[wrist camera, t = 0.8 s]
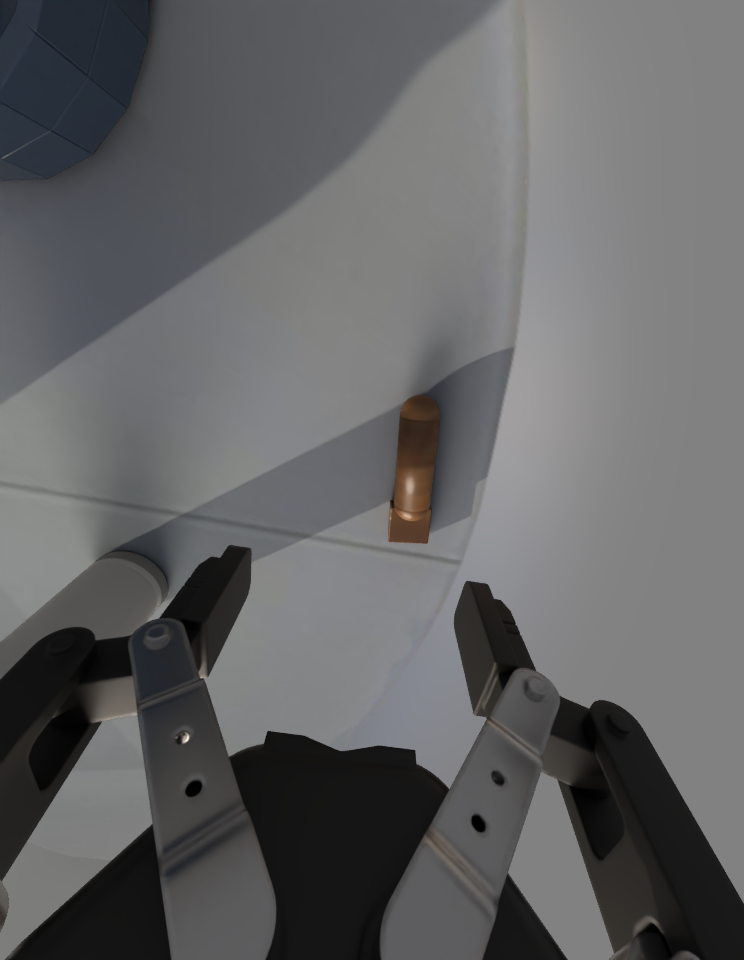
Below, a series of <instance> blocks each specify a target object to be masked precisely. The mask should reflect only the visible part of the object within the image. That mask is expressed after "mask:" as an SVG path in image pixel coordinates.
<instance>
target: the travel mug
mask: <svg viewBox="0 0 744 960" xmlns="http://www.w3.org/2000/svg"><path fill="white" fill-rule="evenodd" d="M167 592H168V586H167V581H166V578H165V576H164V574H163V573H162V572H161V570H160V569H159V568H158V567H157V566H156V565H155V564H154V563H153V562H151V561H150V560H149V559H147V558H145V557H143V556H141V555H138V554H135V553H131V552H125V551H117V552H110V553H107V554H105V555H103V556H102V557H100V558H99V559H98V560H96V561H95V562H94V563H93V564H92V565H91V566H89V568H88V569H86V570H85V571H84V572H82V573H81V574H80V575H79V576H78V577H76V578H75V579H74V580H73V581H72V582H71V583H69V584H68V585H67V586H66V587H65V588H64V589H62V590H61V591H60V592H59V593H58V594H56V595H55V596H54V597H53V598H52V599H51V600H49V601H48V602H47V603H46V604H45V605H44V606H42V607H41V608H40V609H39V610H38V611H36V612H35V613H34V614H33V615H32V616H31V617H29V618H28V619H27V620H26V621H25V622H24V623H22V624H21V625H20V626H19V627H18V628H17V629H15V630H14V631H13V632H12V633H11V634H9V635H8V636H7V637H6V638H5V639H4V640H2V641H1V642H0V679H1V678H2V677H3V676H4V675H5V674H6V673H7V672H8V671H9V670H10V669H11V668H12V667H13V666H14V665H15V664H16V663H17V662H18V661H19V660H20V659H21V658H22V657H23V656H24V655H25V654H26V653H27V651H28V650H29V649H30V648H31V647H32V646H33V645H34V644H36V643H37V642H38V641H39V640H41V639H42V638H43V637H45V636H47V635H49V634H51V633H53V632H55V631H58V630H61V629H64V628H69V627H84V628H87V629H90V630H91V631H92V632H93V633H94V635H95V639H96V640H100V639H109V638H117V637H124V636H129V635H132V634H133V632H134V631H135V630H136V629H138V628H139V627H140V626H142V625H143V624H145V623H147V622H148V620H149V619H150V618H151V617H152V615H153V614H154V612H155V611H156V610H157V609H158V608H159V606H160V605H161V604H162V602H163V601H164V599H165V598H166V595H167Z"/></svg>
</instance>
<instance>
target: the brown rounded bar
mask: <svg viewBox="0 0 744 960" xmlns="http://www.w3.org/2000/svg"><path fill="white" fill-rule="evenodd" d="M439 425H440V408H439V406H438V404H437V403H436V401H435V400H433V399H432V398H431V397H429V396H426V395H415V396H413V397H411V398H409V399H408V400H407V401H406V402H405V403H404V404H403V406H402V408H401V412H400V423H399V437H398V451H397V465H396V479H395V494H394V500H391V501H390V513H389V529H388V541H389V542H403V543H425V544H427V543H428V536H429V528H430V520H431V511H432V509H431V505H430V502H431V493H432V485H433V476H434V468H435V459H436V450H437V442H438V433H439Z"/></svg>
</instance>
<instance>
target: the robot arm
mask: <svg viewBox="0 0 744 960" xmlns="http://www.w3.org/2000/svg"><path fill="white" fill-rule="evenodd" d="M250 583H251V548H247V547H240V546H234V545H229V546H228V547H227V549H226V550H225V552H224V553H223V554H222V556H221V557H220V558H217V557H210V558H209V559H207V560H206V561H204V562H203V563H201V564H199V565H198V567H197V568H196V569H195V571H194V572H193V574H192V575H191V577H190V578H189V579H188V580H187V582H186V583H185V586H183V587H182V588H181V590H180V591H179V592H178V594H177V595H176V596H175V598H174V599H173V600H172V602H171V603H170V604H169V606H168V607H167V608H166V610H165V611H164V613H163V614H162V615H161V617H160V618H159V619H155V620H152V621H149V622H147V623H145V624H143V625H142V626H140V627H139V628H138V629H136V630H135V631H134V632H133V634H132V635H129V636H124V637H117V638H109V639H100V640H96V639H95V635H94V633H93V632H92V631H91V630H90V629H87V628H84V627H69V628H64V629H61V630H58V631H55V632H53V633H51V634H49V635H47V636H45V637H43V638H42V639H41V640H39V641H38V642H37V643H36V644H34V645H33V646H32V647H31V648H30V649H29V650H28V651H27V653H26V654H25V655H24V656H23V657H22V658H21V659H20V660H19V661H18V662H17V663H16V664H15V665H14V666H13V667H12V668H11V669H10V670H9V671H8V672H7V673H6V674H5V675H4V676H3V677H2V678H1V679H0V931H1V929H2V927H3V925H4V922H5V919H6V917H7V913H8V908H9V897H8V893H7V891H6V889H5V887H4V885H3V883H2V880H3V878H4V877H5V875H6V873H7V872H8V871H9V869H10V867H11V866H12V864H13V863H14V861H15V859H16V858H17V856H18V855H19V853H20V851H21V850H22V848H23V847H24V845H25V843H26V842H27V840H28V839H29V837H30V836H31V834H32V832H33V831H34V829H35V828H36V826H37V824H38V823H39V821H40V820H41V818H42V816H43V815H44V813H45V812H46V810H47V809H48V807H49V805H50V804H51V802H52V801H53V799H54V797H55V796H56V794H57V793H58V791H59V789H60V788H61V786H62V785H63V783H64V781H65V780H66V778H67V777H68V775H69V774H70V772H71V770H72V769H73V767H74V766H75V764H76V762H77V761H78V759H79V758H80V756H81V754H82V753H83V751H84V750H85V748H86V746H87V745H88V743H89V742H90V740H91V739H92V737H93V735H94V734H95V732H96V731H97V729H98V727H99V726H100V724H101V723H102V721H105V720H110V719H115V718H121V717H126V716H132V715H138V722H139V729H140V736H141V744H142V751H143V758H144V765H145V772H146V779H147V786H148V794H149V801H150V808H151V815H152V822H153V824H152V825H151V826H150V827H148V828H147V829H146V830H145V831H144V832H143V833H142V834H141V835H140V836H138V837H137V838H136V839H135V840H134V841H133V842H132V843H131V844H130V845H128V846H127V847H126V848H125V849H124V850H123V851H122V852H121V853H120V854H119V855H117V856H116V857H115V858H114V859H113V860H112V861H111V862H110V863H109V864H107V865H106V866H105V867H104V868H103V869H102V870H101V871H100V872H99V873H98V874H96V875H95V877H93V878H92V879H91V880H90V881H89V882H88V883H86V884H85V885H84V886H83V887H82V888H81V889H80V890H79V891H78V892H77V893H76V894H74V895H73V896H72V897H71V898H70V899H69V900H68V901H66V902H65V903H64V904H63V905H62V906H61V907H60V908H59V909H58V910H57V911H55V912H54V913H53V914H52V915H51V916H50V917H49V918H48V919H47V920H45V921H44V922H43V923H42V924H41V925H40V926H39V927H38V928H37V929H36V930H34V931H33V932H32V933H31V934H30V935H29V936H28V937H27V938H26V939H24V940H23V941H22V942H21V943H20V944H19V945H18V946H17V947H16V948H15V950H14V951H12V953H11V954H10V955H9V956H8V957H7V958H6V959H5V960H568V959H567V958H566V957H565V955H564V954H563V952H562V951H561V949H560V948H559V946H558V945H557V944H556V942H555V941H554V939H553V938H552V936H551V935H550V933H549V932H548V930H547V929H546V928H545V926H544V925H543V923H542V922H541V920H540V919H539V917H538V916H537V914H536V913H535V912H534V910H533V909H532V907H531V906H530V904H529V903H528V901H527V900H526V899H525V897H524V896H523V894H522V893H521V891H520V890H519V888H518V887H517V885H516V884H515V883H514V881H513V880H512V878H511V877H510V875H509V874H508V870H509V867H510V864H511V861H512V858H513V855H514V852H515V849H516V846H517V843H518V840H519V837H520V834H521V831H522V828H523V825H524V822H525V819H526V816H527V813H528V810H529V807H530V804H531V800H532V797H533V794H534V791H535V788H536V785H537V782H538V779H539V776H540V773H541V772H543V773H545V774H547V775H549V776H551V777H554V778H555V779H557V780H558V783H559V786H560V789H561V792H562V795H563V798H564V801H565V804H566V807H567V810H568V813H569V816H570V819H571V823H572V825H573V829H574V831H575V835H576V838H577V841H578V844H579V847H580V850H581V853H582V856H583V859H584V862H585V865H586V868H587V872H588V875H589V878H590V881H591V884H592V887H593V890H594V893H595V896H596V899H597V902H598V905H599V908H600V911H601V914H602V917H603V920H604V924H605V927H606V930H607V933H608V936H609V939H610V942H611V945H612V948H613V951H614V955H612V957H611V958H610V959H609V960H744V903H743V902H742V900H741V898H740V897H739V895H738V893H737V892H736V890H735V888H734V886H733V884H732V883H731V881H730V879H729V878H728V876H727V874H726V872H725V870H724V869H723V867H722V865H721V863H720V862H719V860H718V858H717V857H716V855H715V854H714V851H713V850H712V848H711V846H710V845H709V843H708V841H707V839H706V838H705V836H704V834H703V832H702V831H701V829H700V827H699V825H698V824H697V822H696V820H695V818H694V817H693V815H692V813H691V811H690V810H689V808H688V806H687V805H686V803H685V801H684V799H683V798H682V796H681V794H680V792H679V791H678V789H677V787H676V785H675V784H674V782H673V780H672V779H671V777H670V775H669V773H668V772H667V770H666V768H665V766H664V765H663V763H662V761H661V759H660V758H659V756H658V754H657V752H656V751H655V749H654V747H653V745H652V744H651V742H650V740H649V739H648V737H647V735H646V733H645V732H644V730H643V728H642V727H641V725H640V724H639V723H638V722H637V720H636V719H635V718H634V717H633V716H632V715H631V714H630V713H629V712H627V711H626V710H625V709H623V708H622V707H620V706H618V705H616V704H614V703H612V702H609V701H605V700H599V701H595V702H594V703H593V704H592V705H591V707H590V709H588V708H586V707H584V706H581V705H579V704H577V703H574V702H572V701H569V700H567V699H565V698H563V697H561V696H559V694H558V692H557V690H556V688H555V686H554V685H553V684H552V683H551V682H550V681H549V680H548V679H547V678H546V677H545V676H543V675H542V674H540V673H538V672H537V671H536V669H535V667H534V665H533V662H532V660H531V658H530V655H529V653H528V651H527V648H526V646H525V644H524V641H523V639H522V637H521V635H520V632H519V630H518V627H517V626H516V625H515V624H516V623H515V620H514V618H513V616H512V614H511V611H510V610H509V609H508V608H507V607H506V606H505V604H504V603H503V602H502V601H501V600H497V599H494V598H493V596H492V593H491V590H490V588H489V586H488V584H485V583H478V582H471V581H466V583H465V584H464V587H463V590H462V593H461V596H460V599H459V602H458V605H457V608H456V611H455V616H454V629H455V634H456V638H457V642H458V647H459V651H460V656H461V660H462V665H463V669H464V673H465V678H466V682H467V687H468V691H469V696H470V700H471V704H472V708H473V713H474V715H477V716H483V717H486V718H487V720H486V722H485V724H484V726H483V727H482V729H481V731H480V733H479V735H478V737H477V739H476V741H475V742H474V744H473V746H472V748H471V750H470V752H469V754H468V755H467V757H466V759H465V761H464V763H463V765H462V767H461V769H460V771H459V772H458V774H457V776H456V778H455V780H454V782H453V784H452V786H451V788H450V789H449V788H448V787H447V786H446V785H445V784H444V783H443V782H442V781H441V780H440V779H439V778H438V777H436V776H435V775H434V774H433V773H431V772H430V771H428V770H427V769H425V768H423V767H422V766H419V765H417V764H416V754H415V750H410V749H402V748H394V747H386V746H374V747H367V748H361V749H355V750H349V751H338V750H336V749H333V748H331V747H329V746H327V745H324V744H322V743H320V742H317V741H315V740H313V739H311V738H308V737H306V736H302V735H294V734H287V733H279V732H271V731H267V735H266V739H265V742H264V744H261V745H256V746H252V747H249V748H246V749H244V750H242V751H239V752H237V753H235V754H234V755H232V756H230V757H229V756H228V753H227V750H226V746H225V743H224V740H223V737H222V734H221V730H220V727H219V724H218V721H217V718H216V714H215V711H214V708H213V705H212V702H211V698H210V695H209V692H208V689H207V686H206V683H205V681H204V679H203V678H208V676H209V674H210V672H211V670H212V668H213V666H214V664H215V662H216V660H217V658H218V656H219V654H220V652H221V650H222V648H223V646H224V644H225V642H226V639H227V637H228V635H229V633H230V631H231V629H232V627H233V625H234V623H235V621H236V619H237V617H238V615H239V613H240V611H241V609H242V607H243V605H244V602H245V600H246V598H247V596H248V593H249V589H250ZM200 677H202V679H200Z"/></svg>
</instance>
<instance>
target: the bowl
mask: <svg viewBox="0 0 744 960" xmlns="http://www.w3.org/2000/svg"><path fill="white" fill-rule="evenodd" d="M148 12H149V0H0V181H13V180H33V179H48V178H51V177H52V176H54V175H56V174H58V173H60V172H62V171H63V170H65V169H67V168H69V167H71V166H73V165H75V164H76V163H78V162H80V161H82V160H84V159H86V158H88V157H89V156H91V155H93V154H92V153H94V152H95V151H96V150H97V148H98V147H99V146H100V144H101V143H102V141H103V140H104V139H105V137H106V136H107V135H108V133H109V132H110V131H111V129H112V128H113V127H114V125H115V124H116V123H117V121H118V120H119V119H120V117H121V116H122V114H123V113H124V112H125V110H126V108H128V106H129V102H130V99H131V96H132V92H133V89H134V85H135V82H136V79H137V75H138V72H139V69H140V65H141V62H142V58H143V55H144V52H145V48H146V45H147V42H148V40H147V39H148Z"/></svg>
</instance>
